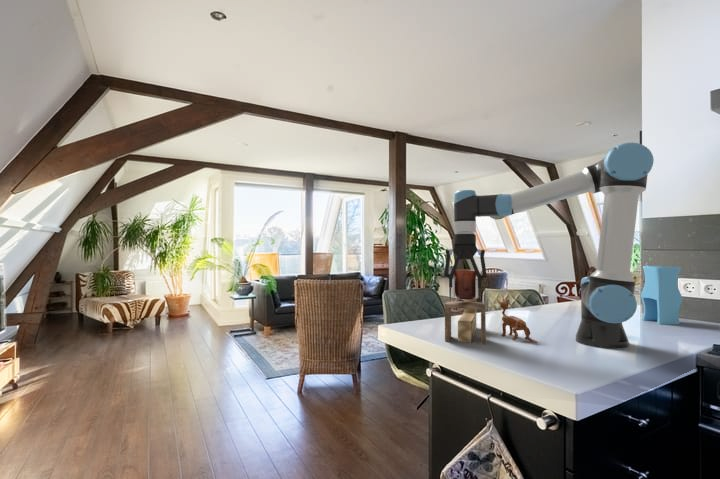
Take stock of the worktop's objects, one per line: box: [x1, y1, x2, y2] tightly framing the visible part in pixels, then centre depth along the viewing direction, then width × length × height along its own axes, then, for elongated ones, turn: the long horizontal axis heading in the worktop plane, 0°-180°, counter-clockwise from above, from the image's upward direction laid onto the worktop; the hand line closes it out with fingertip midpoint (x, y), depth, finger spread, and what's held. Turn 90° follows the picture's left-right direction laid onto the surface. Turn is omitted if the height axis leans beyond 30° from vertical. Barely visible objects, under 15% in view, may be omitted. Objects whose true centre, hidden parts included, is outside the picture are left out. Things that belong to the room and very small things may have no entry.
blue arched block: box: [640, 265, 683, 325], centre depth 158 cm, size 10×10×25 cm
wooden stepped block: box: [457, 297, 477, 343], centre depth 140 cm, size 4×25×20 cm, turn 158°
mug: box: [454, 268, 477, 300], centre depth 131 cm, size 12×9×10 cm
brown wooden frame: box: [444, 300, 487, 346], centre depth 130 cm, size 13×8×13 cm, turn 69°
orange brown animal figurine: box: [499, 298, 539, 344], centre depth 131 cm, size 18×7×14 cm, turn 19°
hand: (465, 297), depth 131 cm, fingers closed on mug, 7 cm apart
